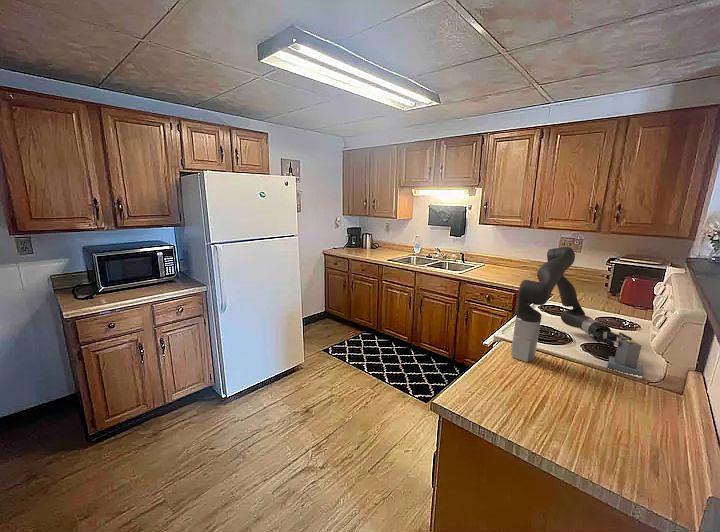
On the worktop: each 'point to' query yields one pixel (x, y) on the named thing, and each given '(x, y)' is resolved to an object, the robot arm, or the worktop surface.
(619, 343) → the block
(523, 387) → the worktop surface
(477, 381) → the worktop surface
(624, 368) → the coupler plate
